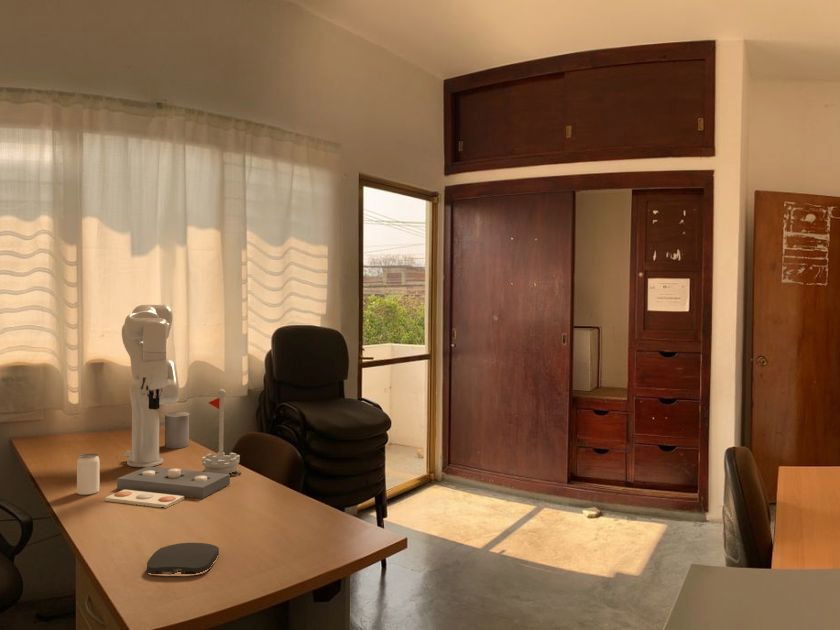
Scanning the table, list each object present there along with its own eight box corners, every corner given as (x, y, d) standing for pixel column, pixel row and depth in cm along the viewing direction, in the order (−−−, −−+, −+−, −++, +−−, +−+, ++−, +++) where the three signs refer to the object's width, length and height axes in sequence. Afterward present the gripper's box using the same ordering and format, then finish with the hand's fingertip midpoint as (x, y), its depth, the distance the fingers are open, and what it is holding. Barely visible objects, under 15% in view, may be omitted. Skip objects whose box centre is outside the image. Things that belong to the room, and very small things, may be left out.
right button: (191, 488, 215) (191, 478, 215) (198, 484, 219) (199, 475, 219) (202, 489, 214) (202, 479, 214) (209, 485, 218) (209, 476, 218)
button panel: (117, 488, 215) (117, 478, 215) (148, 476, 231) (148, 466, 231) (202, 498, 207) (203, 487, 207) (229, 484, 223) (229, 474, 223)
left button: (139, 482, 220) (139, 472, 220) (147, 479, 224) (147, 469, 224) (149, 483, 219) (149, 474, 219) (157, 480, 223) (157, 470, 223)
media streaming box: (222, 553, 165) (222, 541, 165) (205, 578, 151) (205, 565, 151) (164, 553, 165) (164, 541, 165) (141, 578, 150) (141, 565, 150)
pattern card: (104, 500, 203) (104, 497, 203) (124, 492, 212) (124, 488, 212) (166, 508, 197) (166, 504, 197) (184, 499, 206) (184, 495, 206)
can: (90, 496, 207) (90, 458, 207) (72, 494, 209) (72, 457, 208) (103, 490, 214) (104, 453, 213) (86, 488, 215) (86, 452, 214)
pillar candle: (165, 443, 279) (165, 409, 279) (189, 442, 282) (189, 408, 281) (163, 449, 270) (163, 413, 269) (188, 448, 273) (188, 412, 272)
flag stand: (244, 467, 245) (245, 387, 244) (231, 476, 232) (232, 392, 231) (211, 465, 246) (212, 386, 246) (195, 475, 233) (196, 391, 233)
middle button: (165, 480, 218) (165, 471, 217) (172, 477, 221) (172, 468, 221) (175, 481, 217) (176, 472, 216) (183, 478, 220) (183, 469, 220)
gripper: (159, 353, 234) (158, 403, 235) (130, 358, 219) (129, 412, 220) (177, 354, 232) (176, 405, 233) (149, 359, 217) (148, 414, 218)
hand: (153, 408), depth 227 cm, fingers closed
